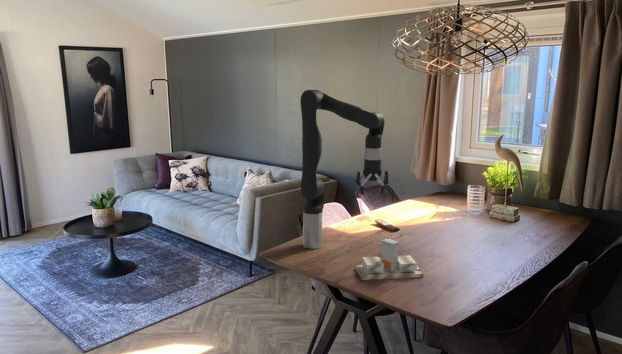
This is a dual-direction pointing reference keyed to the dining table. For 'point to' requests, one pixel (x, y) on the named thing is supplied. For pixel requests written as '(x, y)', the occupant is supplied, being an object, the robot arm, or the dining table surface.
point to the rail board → (376, 270)
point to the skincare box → (390, 254)
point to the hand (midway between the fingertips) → (371, 193)
